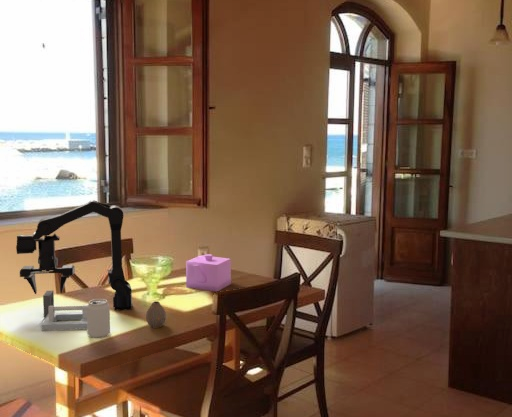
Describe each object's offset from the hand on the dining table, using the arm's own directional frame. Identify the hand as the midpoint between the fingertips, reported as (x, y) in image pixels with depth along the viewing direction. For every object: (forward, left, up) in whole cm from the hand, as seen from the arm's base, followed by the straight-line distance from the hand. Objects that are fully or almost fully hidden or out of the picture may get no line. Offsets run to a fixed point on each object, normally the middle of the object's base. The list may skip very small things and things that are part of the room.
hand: (48, 293), depth 225 cm
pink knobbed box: (-61, -31, -8) cm, 69 cm away
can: (-21, +25, -8) cm, 34 cm away
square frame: (-9, +12, -8) cm, 17 cm away
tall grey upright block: (0, 0, -8) cm, 8 cm away
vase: (-40, +18, -8) cm, 44 cm away
